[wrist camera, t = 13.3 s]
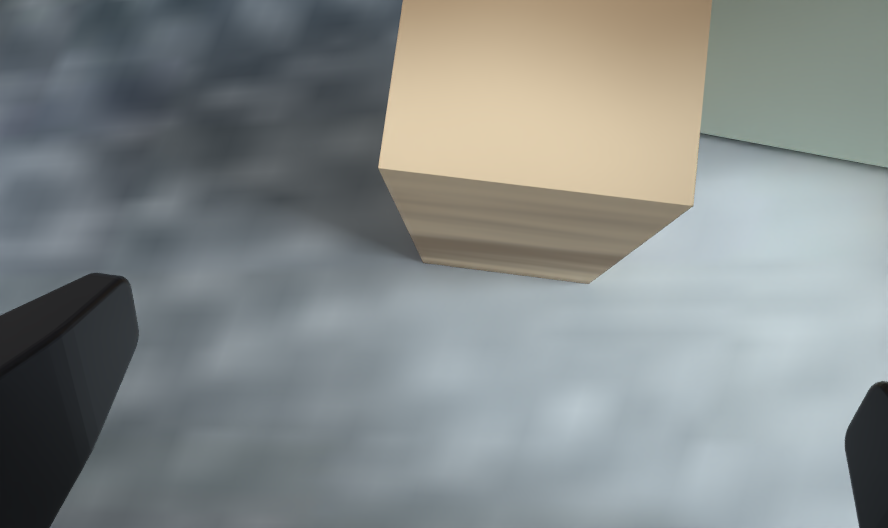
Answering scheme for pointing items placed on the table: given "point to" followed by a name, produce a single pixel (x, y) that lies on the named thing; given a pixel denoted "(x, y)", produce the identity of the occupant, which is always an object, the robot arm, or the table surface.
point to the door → (800, 76)
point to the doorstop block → (543, 129)
